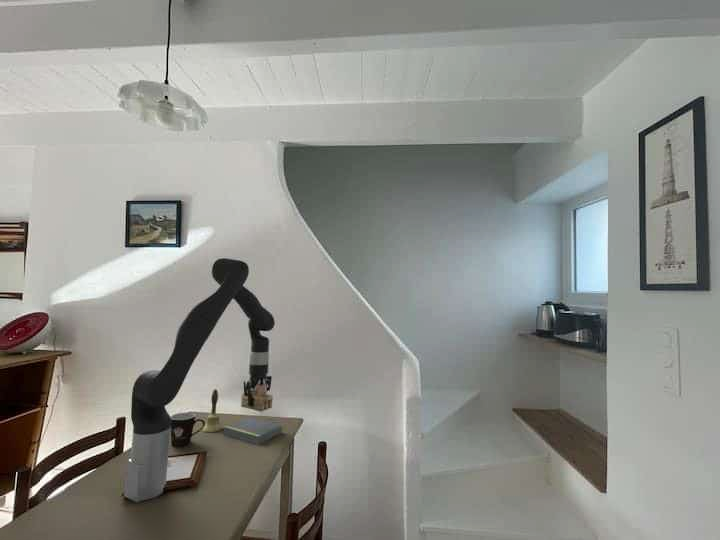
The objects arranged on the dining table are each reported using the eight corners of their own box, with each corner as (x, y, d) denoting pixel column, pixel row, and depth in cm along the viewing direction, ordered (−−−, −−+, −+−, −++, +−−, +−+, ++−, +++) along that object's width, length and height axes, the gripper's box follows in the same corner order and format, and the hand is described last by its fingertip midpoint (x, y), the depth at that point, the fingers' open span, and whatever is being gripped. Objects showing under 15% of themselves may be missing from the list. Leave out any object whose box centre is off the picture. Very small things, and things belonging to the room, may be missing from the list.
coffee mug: (162, 446, 129) (164, 417, 130) (181, 437, 137) (183, 411, 138) (187, 451, 125) (189, 422, 126) (205, 442, 133) (207, 415, 134)
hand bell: (202, 426, 150) (205, 387, 151) (223, 424, 152) (226, 387, 154) (200, 433, 142) (203, 392, 143) (222, 431, 144) (224, 392, 146)
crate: (257, 396, 141) (258, 386, 142) (250, 395, 143) (250, 385, 143) (264, 394, 145) (264, 384, 145) (257, 392, 147) (257, 383, 147)
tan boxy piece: (261, 411, 138) (262, 398, 139) (241, 406, 143) (241, 394, 144) (271, 407, 144) (272, 395, 144) (251, 403, 149) (252, 391, 149)
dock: (257, 444, 133) (257, 436, 133) (223, 434, 141) (224, 426, 141) (281, 433, 145) (282, 425, 145) (249, 424, 154) (250, 417, 154)
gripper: (253, 366, 137) (250, 410, 136) (277, 361, 150) (275, 401, 148) (239, 364, 140) (236, 407, 139) (264, 359, 153) (262, 398, 152)
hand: (256, 404), depth 144 cm, fingers closed on tan boxy piece, 6 cm apart
